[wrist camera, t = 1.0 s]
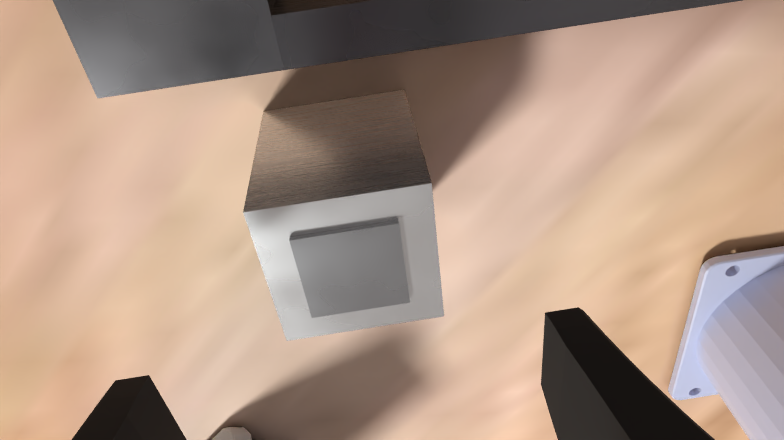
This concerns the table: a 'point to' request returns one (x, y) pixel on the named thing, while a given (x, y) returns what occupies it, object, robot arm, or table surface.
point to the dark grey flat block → (298, 32)
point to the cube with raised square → (344, 216)
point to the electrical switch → (233, 434)
